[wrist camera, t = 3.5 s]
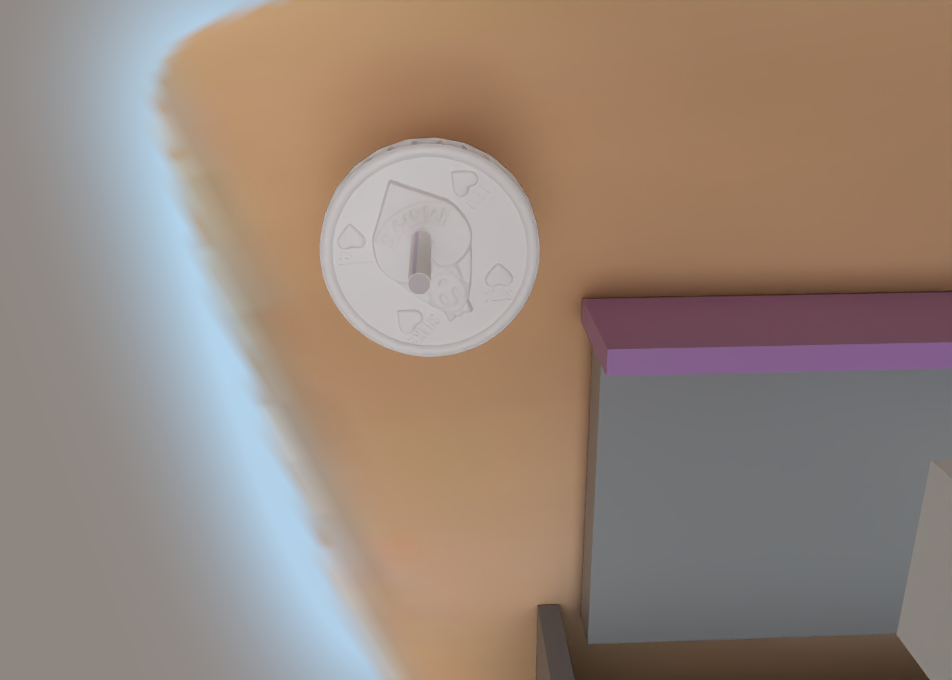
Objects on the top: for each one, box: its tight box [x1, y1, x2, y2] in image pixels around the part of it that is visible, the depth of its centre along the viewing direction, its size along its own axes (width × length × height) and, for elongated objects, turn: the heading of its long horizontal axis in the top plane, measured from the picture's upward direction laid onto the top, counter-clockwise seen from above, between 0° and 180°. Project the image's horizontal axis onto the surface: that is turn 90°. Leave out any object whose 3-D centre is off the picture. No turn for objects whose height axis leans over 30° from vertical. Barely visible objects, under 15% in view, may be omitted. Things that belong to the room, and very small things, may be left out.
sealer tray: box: [581, 292, 952, 644], centre depth 37 cm, size 16×20×6 cm
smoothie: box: [320, 137, 540, 357], centre depth 28 cm, size 6×6×14 cm
